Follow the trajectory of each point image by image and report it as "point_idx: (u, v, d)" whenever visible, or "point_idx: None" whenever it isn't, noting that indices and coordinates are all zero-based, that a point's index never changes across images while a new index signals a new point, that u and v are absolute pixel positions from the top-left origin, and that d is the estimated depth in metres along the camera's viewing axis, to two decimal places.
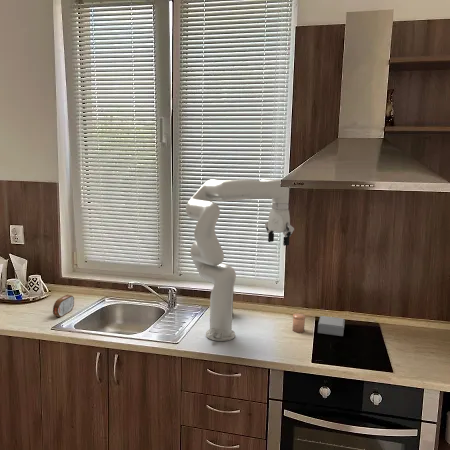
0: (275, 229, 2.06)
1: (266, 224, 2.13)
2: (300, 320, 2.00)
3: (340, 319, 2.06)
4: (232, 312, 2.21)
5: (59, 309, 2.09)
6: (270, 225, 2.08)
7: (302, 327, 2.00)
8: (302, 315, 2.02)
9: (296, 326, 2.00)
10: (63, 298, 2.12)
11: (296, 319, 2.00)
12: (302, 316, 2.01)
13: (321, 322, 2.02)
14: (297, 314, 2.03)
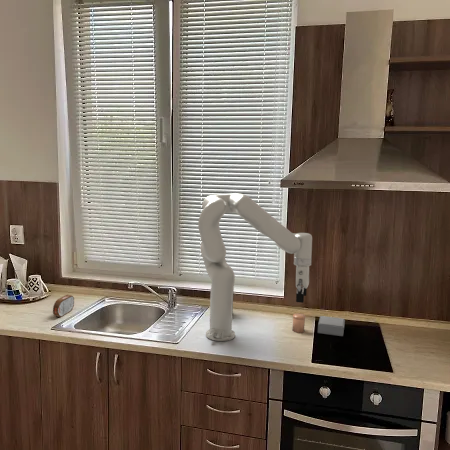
0: (308, 284, 1.99)
1: (300, 286, 1.92)
2: (300, 320, 2.00)
3: (340, 319, 2.06)
4: (232, 312, 2.21)
5: (59, 309, 2.09)
6: (307, 283, 1.96)
7: (302, 327, 2.00)
8: (302, 315, 2.02)
9: (296, 326, 2.00)
10: (63, 298, 2.12)
11: (296, 319, 2.00)
12: (302, 316, 2.01)
13: (321, 322, 2.02)
14: (297, 314, 2.03)
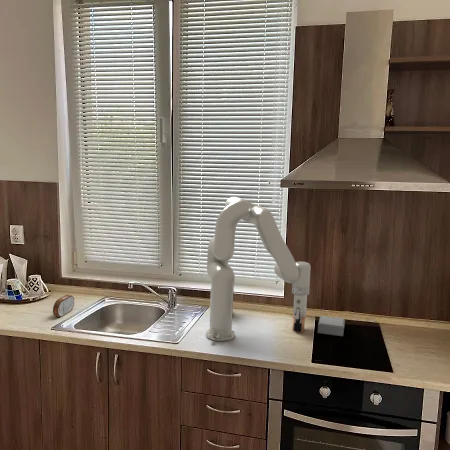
0: (305, 312, 2.01)
1: (298, 317, 1.95)
2: None
3: (340, 319, 2.06)
4: (232, 312, 2.21)
5: (59, 309, 2.09)
6: (305, 311, 1.98)
7: (302, 327, 2.00)
8: None
9: None
10: (63, 298, 2.12)
11: None
12: None
13: (321, 322, 2.02)
14: None
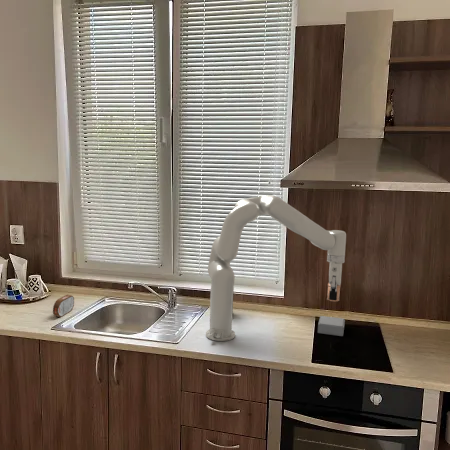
0: None
1: (334, 285, 1.95)
2: None
3: (340, 319, 2.06)
4: (232, 312, 2.21)
5: (59, 309, 2.09)
6: (340, 280, 1.97)
7: (337, 296, 2.00)
8: None
9: None
10: (63, 298, 2.12)
11: None
12: (337, 285, 2.00)
13: (321, 322, 2.02)
14: None
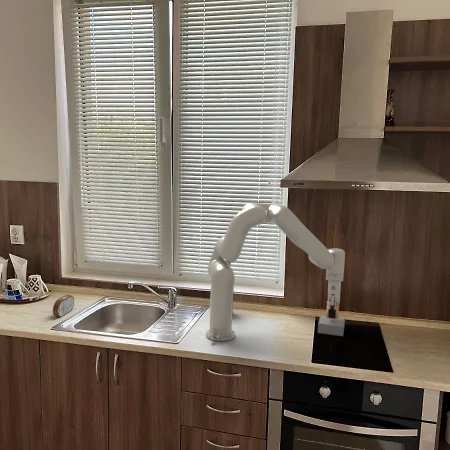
0: None
1: (333, 304, 1.96)
2: None
3: (340, 319, 2.06)
4: (232, 312, 2.21)
5: (59, 309, 2.09)
6: (339, 298, 1.99)
7: (336, 313, 2.01)
8: None
9: None
10: (63, 298, 2.12)
11: None
12: (336, 303, 2.02)
13: (321, 322, 2.02)
14: None
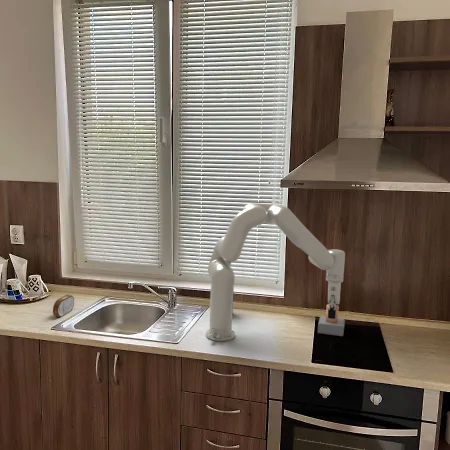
0: None
1: (333, 303, 1.95)
2: None
3: (340, 319, 2.06)
4: (232, 312, 2.21)
5: (59, 309, 2.09)
6: (339, 299, 1.99)
7: (336, 317, 2.01)
8: None
9: None
10: (63, 298, 2.12)
11: None
12: (336, 306, 2.02)
13: (321, 322, 2.02)
14: None
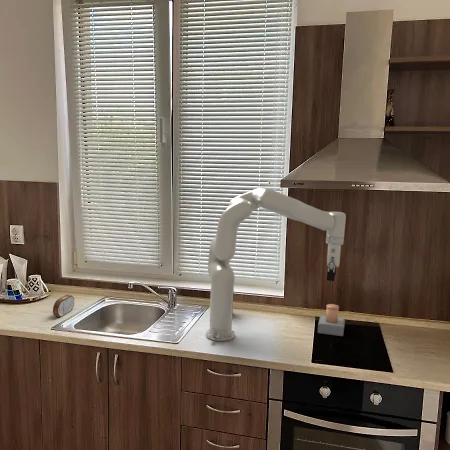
0: None
1: (333, 264, 1.92)
2: (334, 310, 2.00)
3: (340, 319, 2.06)
4: (232, 312, 2.21)
5: (59, 309, 2.09)
6: None
7: (336, 317, 2.01)
8: (335, 305, 2.03)
9: (329, 316, 2.01)
10: (63, 298, 2.12)
11: (330, 309, 2.01)
12: (336, 306, 2.02)
13: (321, 322, 2.02)
14: (330, 305, 2.04)
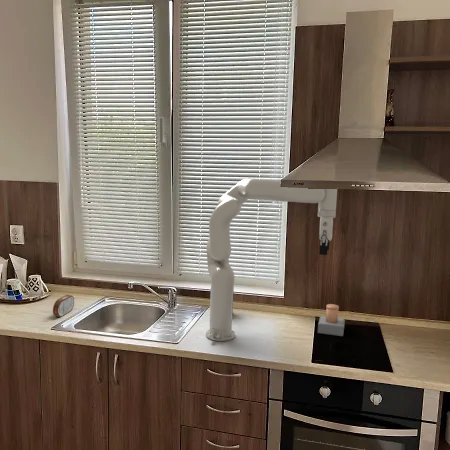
0: None
1: (325, 237, 1.88)
2: (334, 310, 2.00)
3: (340, 319, 2.06)
4: (232, 312, 2.21)
5: (59, 309, 2.09)
6: (331, 235, 1.92)
7: (336, 317, 2.01)
8: (335, 305, 2.03)
9: (329, 316, 2.01)
10: (63, 298, 2.12)
11: (330, 309, 2.01)
12: (336, 306, 2.02)
13: (321, 322, 2.02)
14: (330, 305, 2.04)
